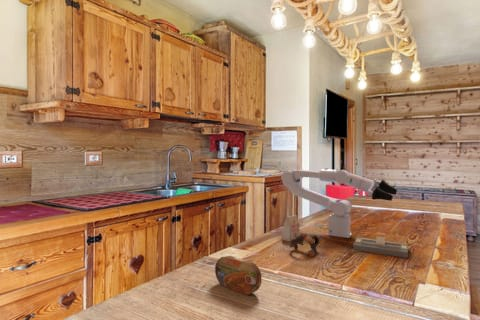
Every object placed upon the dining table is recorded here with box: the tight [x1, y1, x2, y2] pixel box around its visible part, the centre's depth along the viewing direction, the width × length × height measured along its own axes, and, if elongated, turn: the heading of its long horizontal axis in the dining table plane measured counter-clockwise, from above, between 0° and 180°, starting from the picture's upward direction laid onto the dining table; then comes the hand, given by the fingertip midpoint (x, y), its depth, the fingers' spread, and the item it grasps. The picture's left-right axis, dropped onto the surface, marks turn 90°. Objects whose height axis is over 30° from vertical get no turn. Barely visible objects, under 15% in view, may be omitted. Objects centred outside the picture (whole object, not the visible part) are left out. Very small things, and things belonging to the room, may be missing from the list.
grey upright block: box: [282, 214, 301, 242], centre depth 140 cm, size 4×7×10 cm, turn 135°
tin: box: [214, 255, 262, 296], centre depth 90 cm, size 15×3×8 cm, turn 50°
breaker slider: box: [375, 231, 386, 245], centre depth 128 cm, size 3×4×4 cm
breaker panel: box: [352, 236, 409, 259], centre depth 128 cm, size 19×12×3 cm, turn 64°
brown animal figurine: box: [288, 232, 320, 258], centre depth 123 cm, size 12×10×8 cm
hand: (394, 195), depth 136 cm, fingers open, 7 cm apart
